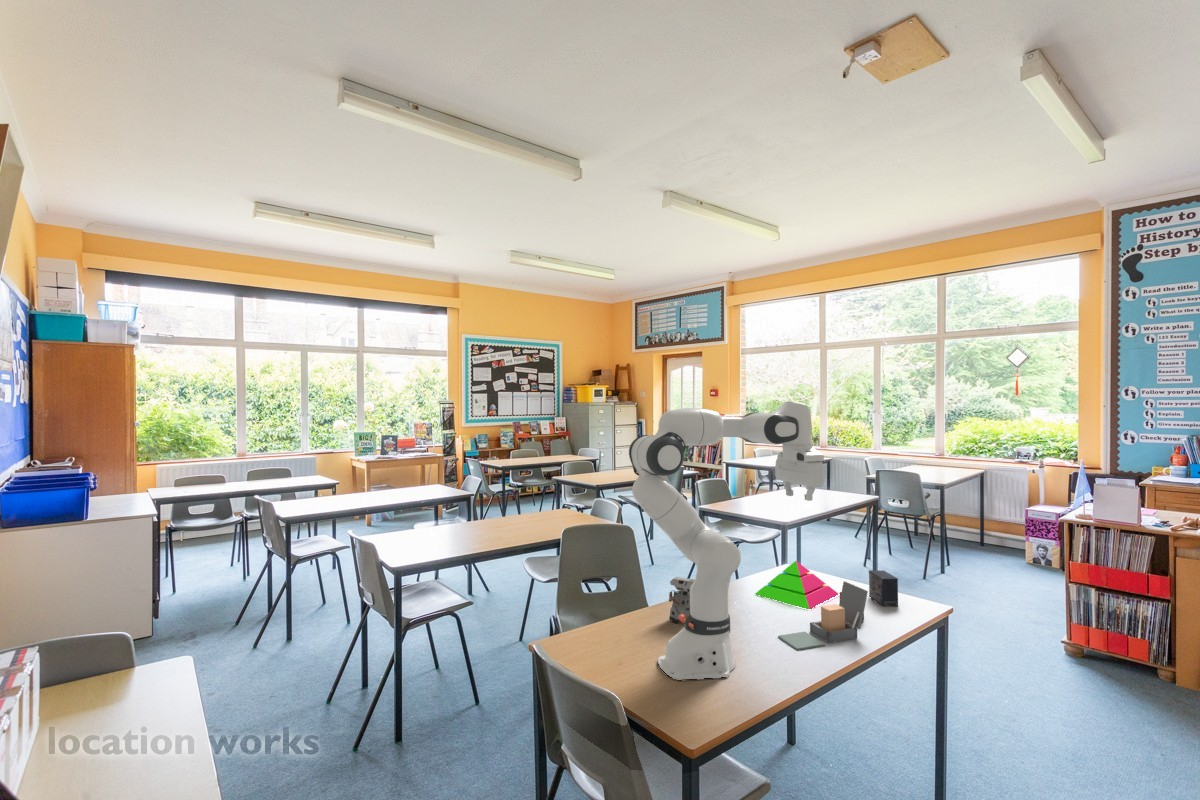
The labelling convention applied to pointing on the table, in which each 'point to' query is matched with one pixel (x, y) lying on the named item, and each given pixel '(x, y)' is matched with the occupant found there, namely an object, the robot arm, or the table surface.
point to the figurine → (680, 598)
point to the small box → (883, 588)
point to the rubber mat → (801, 640)
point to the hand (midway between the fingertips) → (798, 498)
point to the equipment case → (854, 610)
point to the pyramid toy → (797, 588)
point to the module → (832, 617)
